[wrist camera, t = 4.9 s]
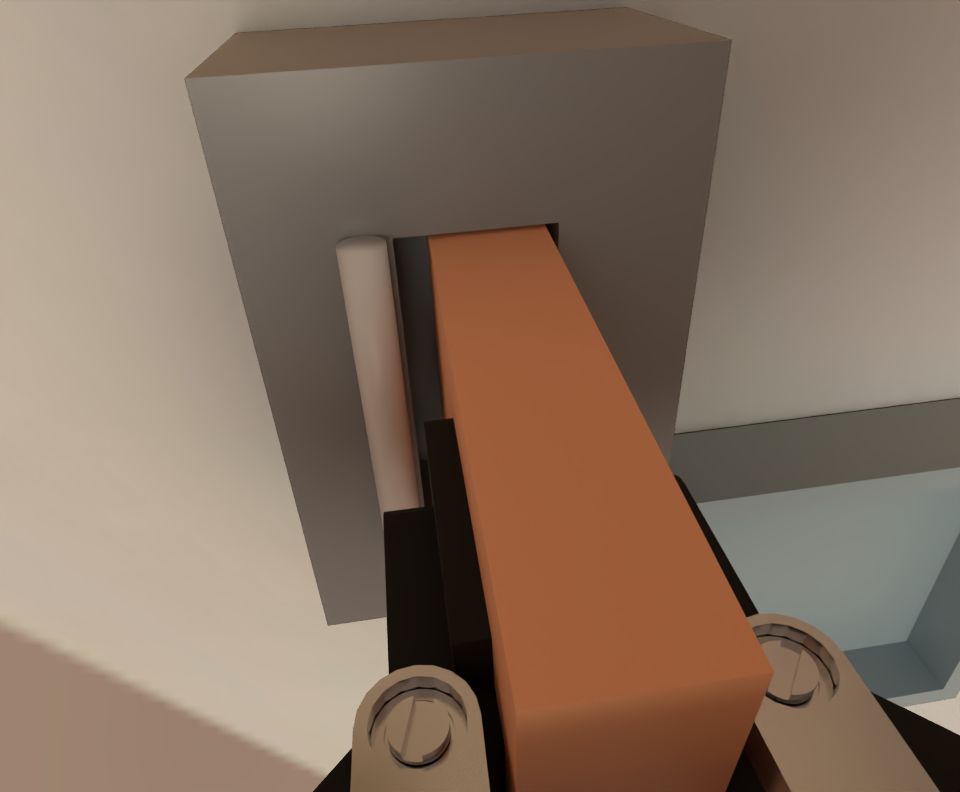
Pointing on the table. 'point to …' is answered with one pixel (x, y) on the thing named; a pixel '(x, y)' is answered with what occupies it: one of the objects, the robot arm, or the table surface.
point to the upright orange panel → (583, 540)
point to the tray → (846, 533)
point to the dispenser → (445, 224)
